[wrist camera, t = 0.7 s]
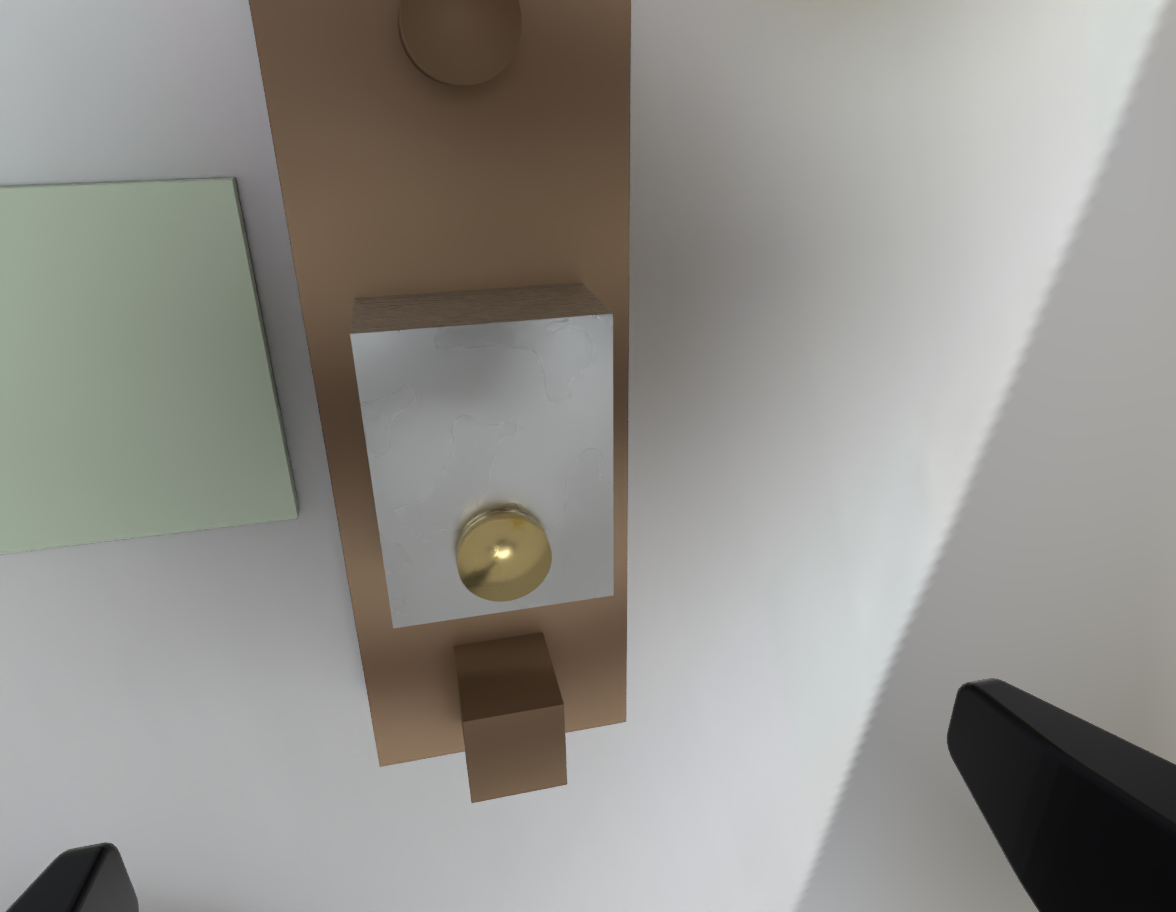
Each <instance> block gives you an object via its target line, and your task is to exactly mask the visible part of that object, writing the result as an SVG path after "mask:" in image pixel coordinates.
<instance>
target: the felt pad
mask: <svg viewBox="0 0 1176 912" xmlns="http://www.w3.org/2000/svg"><path fill="white" fill-rule="evenodd" d="M298 515H299V507H298V501H297V496H296V491H295V486H294V481H293V476H292V470H291V465H290V460H289V455H288V450H287V445H286V439H285V434H284V429H283V424H282V419H281V414H280V408H279V403H278V398H277V393H276V388H275V382H274V377H273V372H272V367H271V362H270V357H269V351H268V346H267V341H266V336H265V331H264V326H263V320H262V315H261V310H260V305H259V300H258V295H257V289H256V284H255V279H254V274H253V269H252V263H251V258H250V253H249V248H248V243H247V238H246V232H245V227H244V222H243V217H242V212H241V207H240V201H239V196H238V191H237V186H236V181H235V177H233V178H207V179H181V180H155V181H130V182H104V183H78V184H53V185H27V186H1V187H0V554H8V553H16V552H25V551H33V550H41V549H49V548H58V547H66V546H74V545H83V544H91V543H99V542H107V541H116V540H124V539H132V538H141V537H149V536H157V535H166V534H174V533H182V532H190V531H199V530H207V529H215V528H224V527H232V526H240V525H248V524H257V523H265V522H273V521H282V520H290V519H298Z"/></svg>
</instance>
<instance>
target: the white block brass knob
mask: <svg viewBox="0 0 1176 912" xmlns="http://www.w3.org/2000/svg"><path fill="white" fill-rule="evenodd" d="M350 337H351V344H352V351H353V358H354V364H355V371H356V378H357V385H358V392H359V398H360V405H361V412H362V419H363V426H364V433H365V439H366V446H367V453H368V460H369V467H370V473H371V480H372V487H373V494H374V501H375V508H376V514H377V521H378V528H379V535H380V542H381V548H382V555H383V562H384V569H385V576H386V583H387V589H388V596H389V603H390V610H391V617H392V624H393V628H400V627H406V626H413V625H420V624H426V623H433V622H440V621H446V620H453V619H460V618H466V617H473V616H480V615H486V614H493V613H500V612H506V611H513V610H520V609H526V608H533V607H540V606H546V605H553V604H560V603H566V602H573V601H580V600H586V599H593V598H599V597H606V596H613V595H614V555H613V313H612V312H611V311H610V310H609V309H608V308H607V307H606V306H605V305H604V304H603V303H602V302H601V301H600V300H599V299H598V298H597V297H596V296H595V295H594V294H593V293H592V292H591V291H590V290H589V289H588V288H587V287H586V286H585V285H584V284H583V283H582V282H580V283H565V284H551V285H537V286H522V287H508V288H493V289H479V290H464V291H450V292H435V293H421V294H406V295H392V296H377V297H363V298H354V307H353V315H352V323H351V331H350Z"/></svg>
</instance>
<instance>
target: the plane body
mask: <svg viewBox="0 0 1176 912" xmlns="http://www.w3.org/2000/svg"><path fill="white" fill-rule="evenodd" d="M249 4H250V10H251V16H252V21H253V27H254V33H255V39H256V45H257V51H258V57H259V62H260V68H261V74H262V80H263V86H264V92H265V97H266V103H267V109H268V115H269V121H270V127H271V133H272V138H273V144H274V150H275V156H276V162H277V168H278V174H279V179H280V185H281V191H282V197H283V203H284V209H285V215H286V220H287V226H288V232H289V238H290V244H291V250H292V255H293V261H294V267H295V273H296V279H297V285H298V291H299V296H300V302H301V308H302V314H303V320H304V326H305V332H306V337H307V343H308V349H309V355H310V361H311V367H312V373H313V378H314V384H315V390H316V396H317V402H318V408H319V413H320V419H321V425H322V431H323V437H324V443H325V449H326V454H327V460H328V466H329V472H330V478H331V484H332V490H333V495H334V501H335V507H336V513H337V519H338V525H339V531H340V536H341V542H342V548H343V554H344V560H345V566H346V571H347V577H348V583H349V589H350V595H351V601H352V607H353V612H354V618H355V624H356V630H357V636H358V642H359V648H360V653H361V659H362V665H363V671H364V677H365V683H366V689H367V694H368V700H369V706H370V712H371V718H372V724H373V729H374V735H375V741H376V747H377V753H378V759H379V765H380V767H381V766H387V765H392V764H398V763H403V762H409V761H414V760H420V759H425V758H431V757H436V756H442V755H447V754H452V753H458V752H463V751H465V754H466V762H467V770H468V778H469V786H470V794H471V802H472V803H475V802H480V801H485V800H490V799H495V798H500V797H505V796H510V795H515V794H520V793H526V792H531V791H536V790H541V789H546V788H551V787H556V786H561V785H566V784H567V771H566V744H565V733H567V732H573V731H578V730H583V729H589V728H594V727H600V726H605V725H611V724H616V723H622V722H626V659H627V506H628V353H629V200H630V47H631V0H249ZM580 282H582V283H583V284H584V285H585V286H586V287H587V288H588V289H589V290H590V291H591V292H592V293H593V294H594V295H595V296H596V297H597V298H598V299H599V300H600V301H601V302H602V303H603V304H604V305H605V306H606V307H607V308H608V309H609V310H610V311H611V312H612V313H613V555H614V595H613V596H606V597H599V598H593V599H586V600H580V601H573V602H566V603H560V604H553V605H546V606H540V607H533V608H526V609H520V610H513V611H506V612H500V613H493V614H486V615H480V616H473V617H466V618H460V619H453V620H446V621H440V622H433V623H426V624H420V625H413V626H406V627H400V628H393V624H392V617H391V610H390V603H389V596H388V589H387V583H386V576H385V569H384V562H383V555H382V548H381V542H380V535H379V528H378V521H377V514H376V508H375V501H374V494H373V487H372V480H371V473H370V467H369V460H368V453H367V446H366V439H365V433H364V426H363V419H362V412H361V405H360V398H359V392H358V385H357V378H356V371H355V364H354V358H353V351H352V344H351V337H350V331H351V323H352V315H353V307H354V298H363V297H377V296H392V295H406V294H421V293H435V292H450V291H464V290H479V289H493V288H508V287H522V286H537V285H551V284H565V283H580Z"/></svg>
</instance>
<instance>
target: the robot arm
mask: <svg viewBox="0 0 1176 912" xmlns="http://www.w3.org/2000/svg"><path fill="white" fill-rule="evenodd" d="M947 744H948V749H949V752H950V755H951V757H952V759H953V761H954V763H955V765H956V767H957V769H958V770H959V772H960V774H961V776H962V778H963V780H964V781H965V783H966V785H967V787H968V788H969V791H970V792H971V794H972V796H973V798H974V799H975V802H976V803H977V805H978V807H979V809H980V811H981V812H982V814H983V816H984V818H985V820H986V822H987V823H988V825H989V827H990V829H991V831H992V833H993V834H994V836H995V838H996V840H997V842H998V844H999V846H1000V847H1001V849H1002V851H1003V853H1004V855H1005V857H1006V858H1007V860H1008V862H1009V863H1010V865H1011V867H1012V869H1013V871H1014V872H1015V874H1016V876H1017V877H1018V879H1019V881H1020V883H1021V884H1022V886H1023V887H1024V889H1025V890H1026V892H1027V893H1028V895H1029V896H1030V898H1031V900H1032V901H1033V903H1034V904H1035V906H1036V907H1037V909H1038V910H1039V912H1176V765H1175V764H1173V763H1171V762H1169V761H1167V760H1165V759H1163V758H1161V757H1159V756H1157V755H1155V754H1153V753H1150V752H1149V751H1147V750H1144V749H1142V748H1140V747H1138V746H1136V745H1134V744H1132V743H1130V742H1128V741H1126V740H1124V739H1121V738H1120V737H1117V736H1116V735H1114V734H1111V733H1109V732H1107V731H1105V730H1103V729H1101V728H1099V727H1097V726H1095V725H1093V724H1091V723H1089V722H1087V721H1085V720H1083V719H1081V718H1078V717H1076V716H1074V715H1072V714H1070V713H1068V712H1066V711H1064V710H1062V709H1060V708H1058V707H1056V706H1054V705H1052V704H1050V703H1048V702H1045V701H1043V700H1041V699H1039V698H1037V697H1035V696H1033V695H1031V694H1029V693H1027V692H1025V691H1023V690H1020V689H1019V688H1016V687H1015V686H1012V685H1010V684H1008V683H1006V682H1004V681H1002V680H999V679H994V678H989V679H983V680H978V681H972V682H967V683H965V684H963V685H962V686H961V687H960V688H959V689H958V692H957V694H956V699H955V703H954V707H953V711H952V715H951V720H950V724H949V728H948V732H947ZM6 912H139V908H138V901H137V897H136V894H135V891H134V889H133V886H132V883H131V881H130V878H129V876H128V873H127V871H126V868H125V865H124V863H123V860H122V858H121V855H120V853H119V851H118V849H117V847H116V846H114V845H113V844H111V843H100V844H95V845H89V846H84V847H79V848H73V849H69V850H67V851H65V852H63V853H62V854H60V855H59V856H58V857H57V858H56V859H55V860H54V861H53V862H52V863H51V864H50V865H49V866H48V867H47V868H46V869H45V870H44V871H43V872H42V873H41V874H40V876H39V877H38V878H37V879H36V880H35V881H34V882H33V883H32V884H31V885H30V886H29V887H28V888H27V889H26V891H25V892H24V893H23V894H22V895H21V896H20V897H19V898H18V899H17V900H16V901H15V902H14V903H13V904H12V905H11V907H10V908H9V909H8V910H7V911H6Z"/></svg>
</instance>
